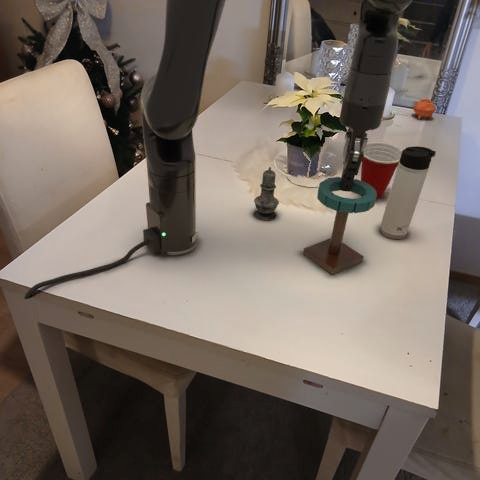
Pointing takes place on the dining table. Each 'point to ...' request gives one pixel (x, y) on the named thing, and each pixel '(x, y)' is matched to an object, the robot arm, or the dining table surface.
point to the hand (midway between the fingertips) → (345, 187)
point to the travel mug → (405, 191)
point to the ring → (346, 203)
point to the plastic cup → (379, 165)
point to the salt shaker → (266, 197)
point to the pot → (424, 108)
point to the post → (334, 249)
